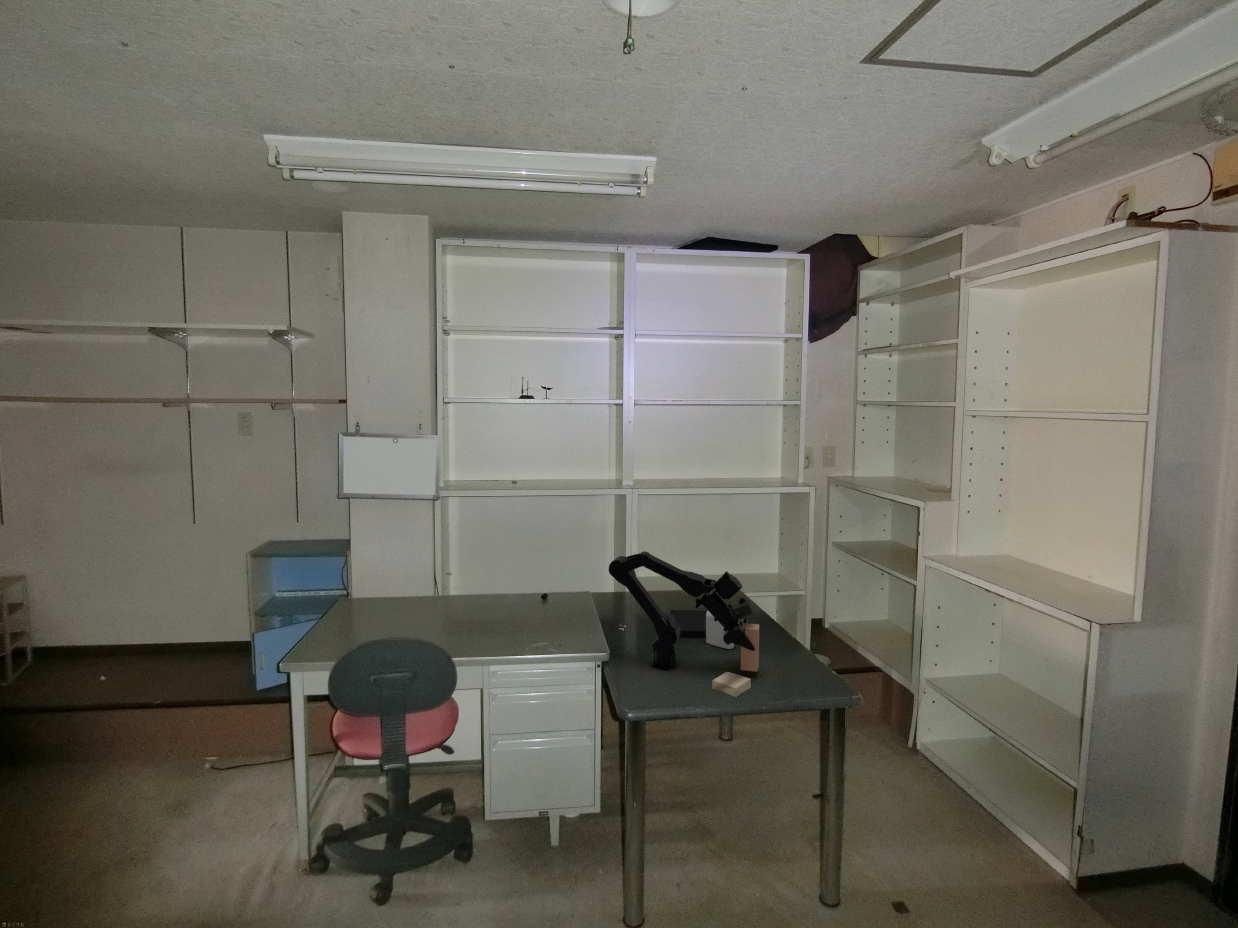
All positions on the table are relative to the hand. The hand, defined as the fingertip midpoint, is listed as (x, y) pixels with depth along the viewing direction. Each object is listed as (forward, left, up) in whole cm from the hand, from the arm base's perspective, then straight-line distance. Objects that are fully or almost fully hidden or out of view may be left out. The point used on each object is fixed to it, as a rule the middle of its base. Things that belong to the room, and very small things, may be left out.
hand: (754, 646), depth 193 cm
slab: (0, -13, -9) cm, 16 cm away
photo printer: (-21, +13, -9) cm, 27 cm away
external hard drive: (-40, +21, -9) cm, 46 cm away
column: (-1, -1, -7) cm, 7 cm away
